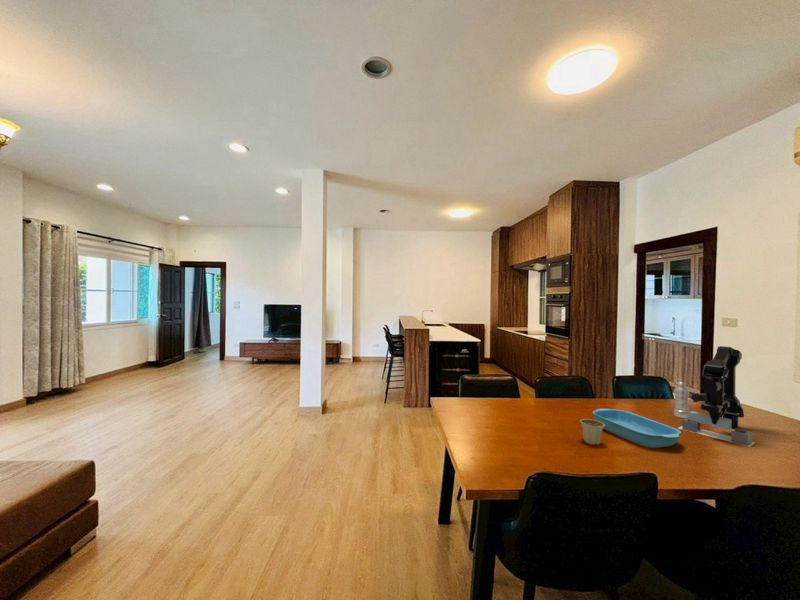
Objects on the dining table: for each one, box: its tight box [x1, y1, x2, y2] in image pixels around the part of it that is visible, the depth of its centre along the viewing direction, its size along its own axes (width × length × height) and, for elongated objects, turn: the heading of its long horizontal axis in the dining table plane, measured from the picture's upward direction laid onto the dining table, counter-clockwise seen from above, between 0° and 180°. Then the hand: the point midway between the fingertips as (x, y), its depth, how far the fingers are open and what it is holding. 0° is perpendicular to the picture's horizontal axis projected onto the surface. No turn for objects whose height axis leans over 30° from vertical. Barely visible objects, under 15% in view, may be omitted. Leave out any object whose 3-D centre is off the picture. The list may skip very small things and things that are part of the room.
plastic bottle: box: [673, 380, 690, 420], centre depth 179 cm, size 6×7×20 cm
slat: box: [689, 410, 732, 430], centre depth 155 cm, size 4×14×4 cm, turn 34°
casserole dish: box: [592, 408, 682, 449], centre depth 154 cm, size 37×22×7 cm, turn 14°
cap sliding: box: [730, 428, 753, 446], centre depth 146 cm, size 7×5×4 cm
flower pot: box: [579, 418, 605, 445], centre depth 145 cm, size 9×9×9 cm
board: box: [677, 425, 756, 448], centre depth 153 cm, size 9×25×1 cm, turn 34°
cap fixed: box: [681, 417, 702, 434], centre depth 160 cm, size 7×5×4 cm
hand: (715, 423), depth 153 cm, fingers closed on slat, 3 cm apart
